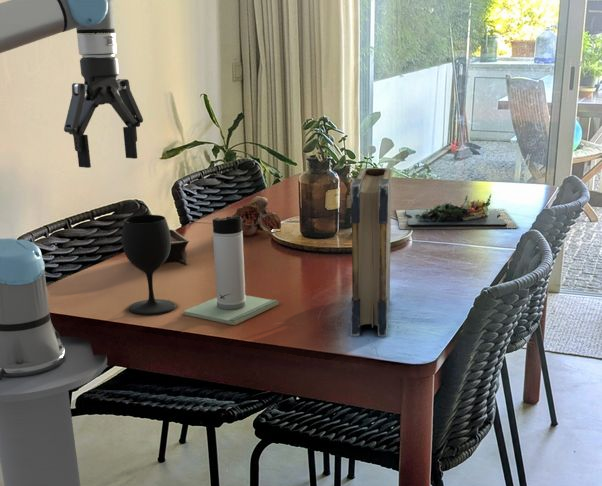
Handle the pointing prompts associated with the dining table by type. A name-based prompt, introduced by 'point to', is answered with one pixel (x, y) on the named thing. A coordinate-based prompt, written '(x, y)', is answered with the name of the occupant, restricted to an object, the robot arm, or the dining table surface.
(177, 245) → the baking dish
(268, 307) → the pale green notebook
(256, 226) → the seed pod
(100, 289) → the dining table surface
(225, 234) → the travel mug
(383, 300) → the decorative book
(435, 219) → the plated dish
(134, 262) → the wine glass
